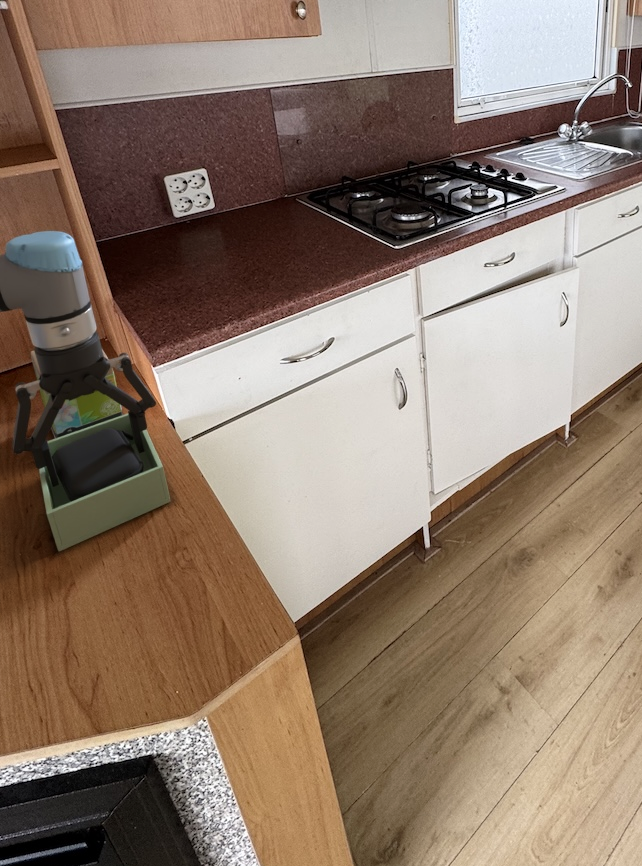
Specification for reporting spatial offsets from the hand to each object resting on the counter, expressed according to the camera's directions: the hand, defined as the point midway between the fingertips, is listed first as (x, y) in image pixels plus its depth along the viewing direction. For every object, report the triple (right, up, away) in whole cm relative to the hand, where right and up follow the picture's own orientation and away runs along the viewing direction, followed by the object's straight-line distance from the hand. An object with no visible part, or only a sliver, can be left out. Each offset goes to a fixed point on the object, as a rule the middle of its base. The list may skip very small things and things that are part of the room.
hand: (99, 463), depth 90 cm
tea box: (-13, 0, +16) cm, 21 cm away
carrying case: (0, -1, +1) cm, 2 cm away
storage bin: (0, -5, +2) cm, 5 cm away
